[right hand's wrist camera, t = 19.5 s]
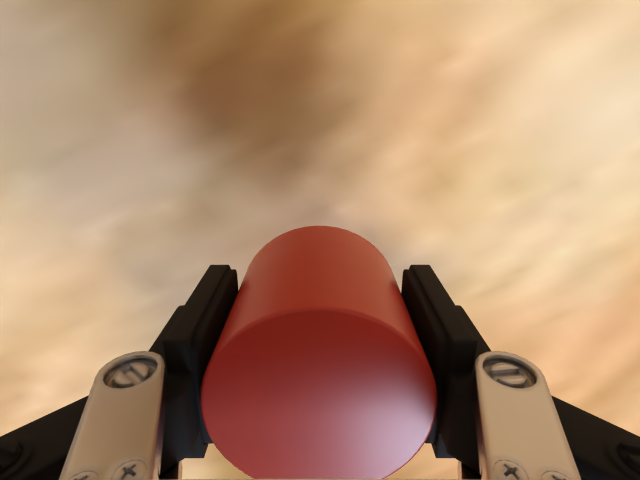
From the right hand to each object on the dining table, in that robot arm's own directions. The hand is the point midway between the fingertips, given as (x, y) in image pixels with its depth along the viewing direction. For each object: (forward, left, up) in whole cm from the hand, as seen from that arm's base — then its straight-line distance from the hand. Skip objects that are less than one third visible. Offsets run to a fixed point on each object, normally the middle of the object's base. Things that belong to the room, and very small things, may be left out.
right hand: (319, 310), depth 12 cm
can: (0, 0, -1) cm, 1 cm away
